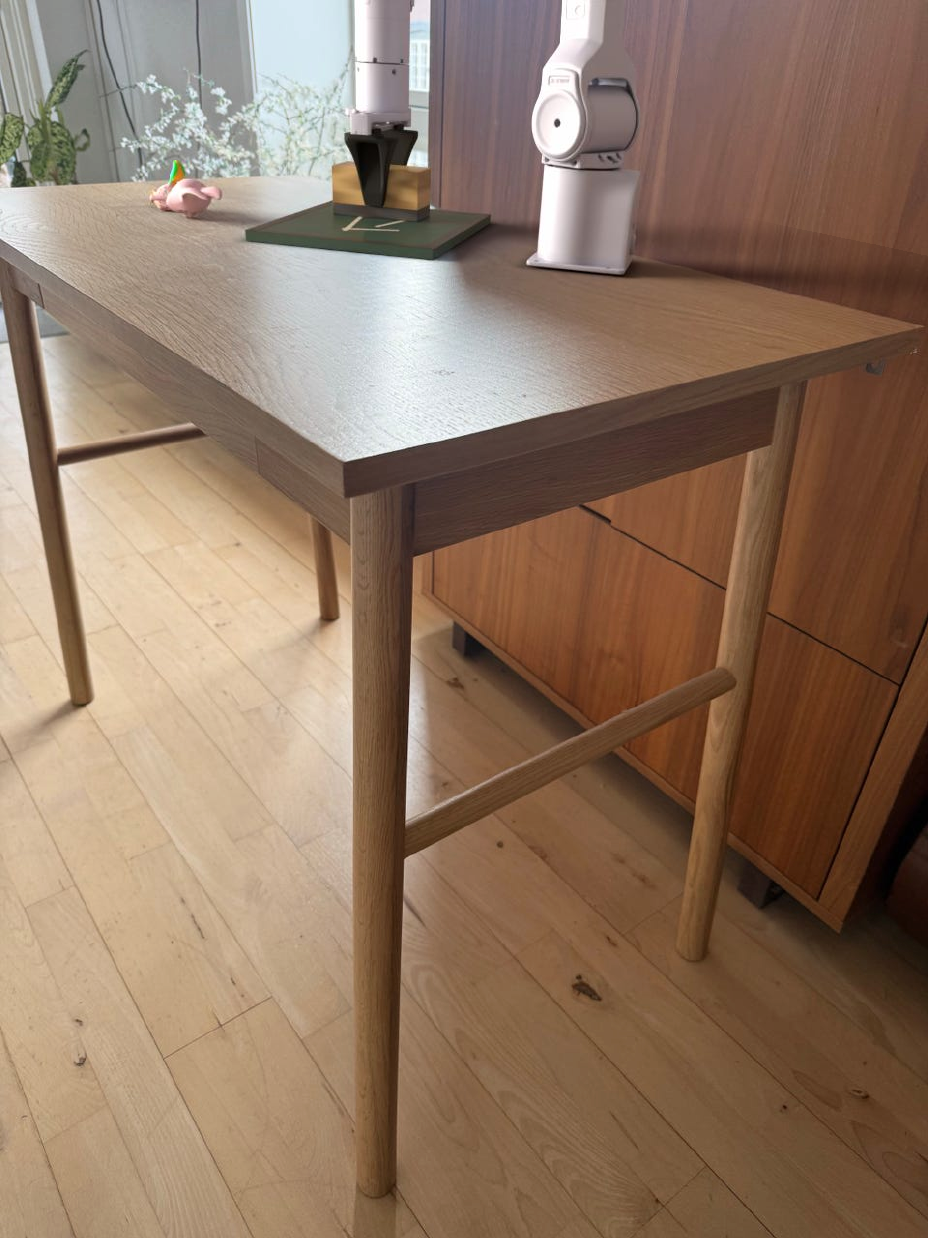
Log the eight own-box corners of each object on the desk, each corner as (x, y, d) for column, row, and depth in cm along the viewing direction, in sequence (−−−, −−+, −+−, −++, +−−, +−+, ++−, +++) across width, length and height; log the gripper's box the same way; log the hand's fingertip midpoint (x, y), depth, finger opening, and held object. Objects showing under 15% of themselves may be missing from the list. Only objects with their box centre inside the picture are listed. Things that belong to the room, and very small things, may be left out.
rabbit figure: (139, 220, 109) (188, 217, 98) (129, 163, 107) (177, 154, 96) (190, 217, 113) (242, 214, 101) (181, 162, 110) (234, 153, 99)
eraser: (430, 215, 107) (431, 167, 105) (417, 221, 103) (418, 172, 101) (348, 208, 109) (347, 160, 107) (332, 214, 105) (331, 165, 103)
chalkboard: (490, 223, 111) (491, 214, 110) (433, 259, 91) (433, 248, 90) (333, 208, 115) (333, 199, 114) (245, 240, 95) (244, 229, 94)
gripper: (369, 60, 105) (370, 191, 112) (320, 61, 93) (325, 207, 100) (429, 64, 104) (426, 196, 111) (387, 65, 92) (387, 213, 99)
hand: (382, 202), depth 106 cm, fingers closed on eraser, 5 cm apart
